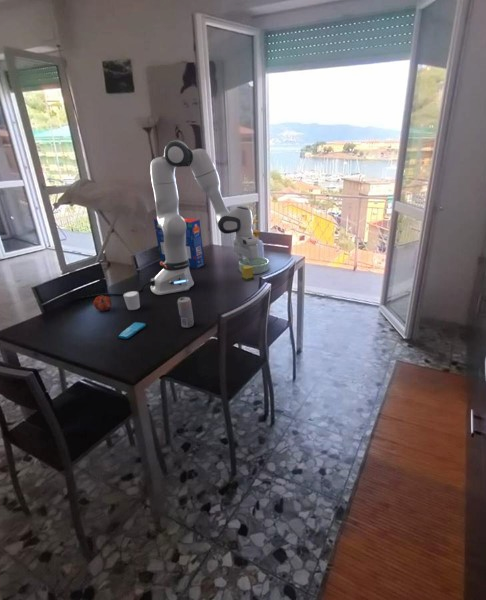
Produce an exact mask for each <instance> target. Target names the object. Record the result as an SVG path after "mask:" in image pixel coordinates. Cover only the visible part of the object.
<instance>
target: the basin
mask: <svg viewBox="0 0 486 600" xmlns="http://www.w3.org/2000/svg"><path fill="white" fill-rule="evenodd" d="M248 262H249V260H248V258H247V257H243V261H239V260H238V271H239V272H240V273H242V267H243V266H247V265H248ZM251 267H253V275H259V274H261V275H262V274H264V273H266V272H267V271H269V270H270V260H269V259H268V258H266V257H264V258H263V257H257V259H253V261H252V266H251Z"/></svg>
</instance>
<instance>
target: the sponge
mask: <svg viewBox="0 0 486 600" xmlns="http://www.w3.org/2000/svg"><path fill="white" fill-rule="evenodd" d="M145 327H146V323H144V322H133V323H132V324H131V325H130V326H128V327H127V328H126V329H125V330H123V331H122V332H120V334H119V335H118V338H119V339H125V340H127V339H129V338H131V337H132V336H134V335H135V334H136V333H137V332H139V331H140V330H142V329H144V328H145Z"/></svg>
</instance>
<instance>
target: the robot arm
mask: <svg viewBox="0 0 486 600" xmlns="http://www.w3.org/2000/svg"><path fill="white" fill-rule="evenodd" d="M182 167H188V168H189V170H190V171H191V173H192V175H193V177H194V180H195V182H196V184H197V186H198V187H199V188H200V189H201V191H202V192H203V193H204V194H205V195H206V196H207V197H208V199H209V201H210V204H211V205H212V207H213V209H214V212H215V223H216V225H217V227H218V230H219V231H220V233H223V234H227V235H229V234H233V233H235V235H234V239H233V242H232V243H233V244H232V245H233V246H232V247H233V251H234V252H235V253H237V257H238V262H239V261H243V259H244V258H248V260H249V262H248V266H252V261H253V259H257V257H258V247H257V244H258V240H257V239H256V238H255V237H254V236H255V234H254V233H253V231H254V230H253V224H254V223H253V213H252V210H251V209H250V208H249V207H246V206H241V205H239V206H238V205H237V206H236V207H235V208H234V209H232V210H229V208H228V207H227V205H226V203H225V201H224V199H223V196H222V193H221V180H220V175H219V173H218V170H217V168H216V166H215V164H214V161H213V159H212V158H211V156H210V154H209V153H208V151H207V150H205V149H204V148H195V149H190V148H189V146H188V144H187V143H185V141H182V140H180V139H174V140H171V141H169V142H168V143H167V144H166V145H165V147H164V150H163V156H157V157H154V158H153V159H152V160H151V161H150V178H151V185H152V189H153V195H154V201H155V213H156V218H157V222H158V225H159V227H160V228H161V229H162V230H163V234H164V252H165V258H166V261H165V262H162V261H161V260H160V261H159V265H160V266H161V267H162V269H161V270H160V271H159V272H158V273H157V274H156V275H155V276H154V277H151V278H150V281H149V282H146V283H145V284H143V286H142V288H141V289H139V290H136V291H137V292H138V293H141V292H142V291H143V290H144V289H145V288H146V287H147V286H148V285H150V284H151V285H150V291H151V293H153V294H154V295H157V296H162V295H163V296H164V295H169V294H174V293H175V294H176V293H179V292H185V291H189V290H190V288H191V287H193V286H194V285H195V282H194V280H193V277H192V274H191V270H190V269H191V268H190V267H189V266H190V265H189V260H188V258H187V251H186V223H185V220H184V219H183V218H184V217H183V216H182V215H180V211H179V200H180V199H179V198H180V197H179V192H178V186H177V179H176V169H177V168H182ZM252 230H253V231H252ZM125 293H126V292H124V293H96V294H90V295H91V296H89V295H85V296H86V297H84V296H81V297H82V298H79V300H80V299H88V298H94V297H98V296H101V295H103V296H123V295H124V294H125Z"/></svg>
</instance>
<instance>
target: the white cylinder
mask: <svg viewBox="0 0 486 600" xmlns="http://www.w3.org/2000/svg"><path fill="white" fill-rule="evenodd" d="M137 291H138V290H132V291H127V292H124V293H125V294H124V295H122V296H123V299H124V302H125V305H126V308H127V310H128V311H135V310H138V309H140V308H141V304H140V303H141V302H140V292H137Z"/></svg>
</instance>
